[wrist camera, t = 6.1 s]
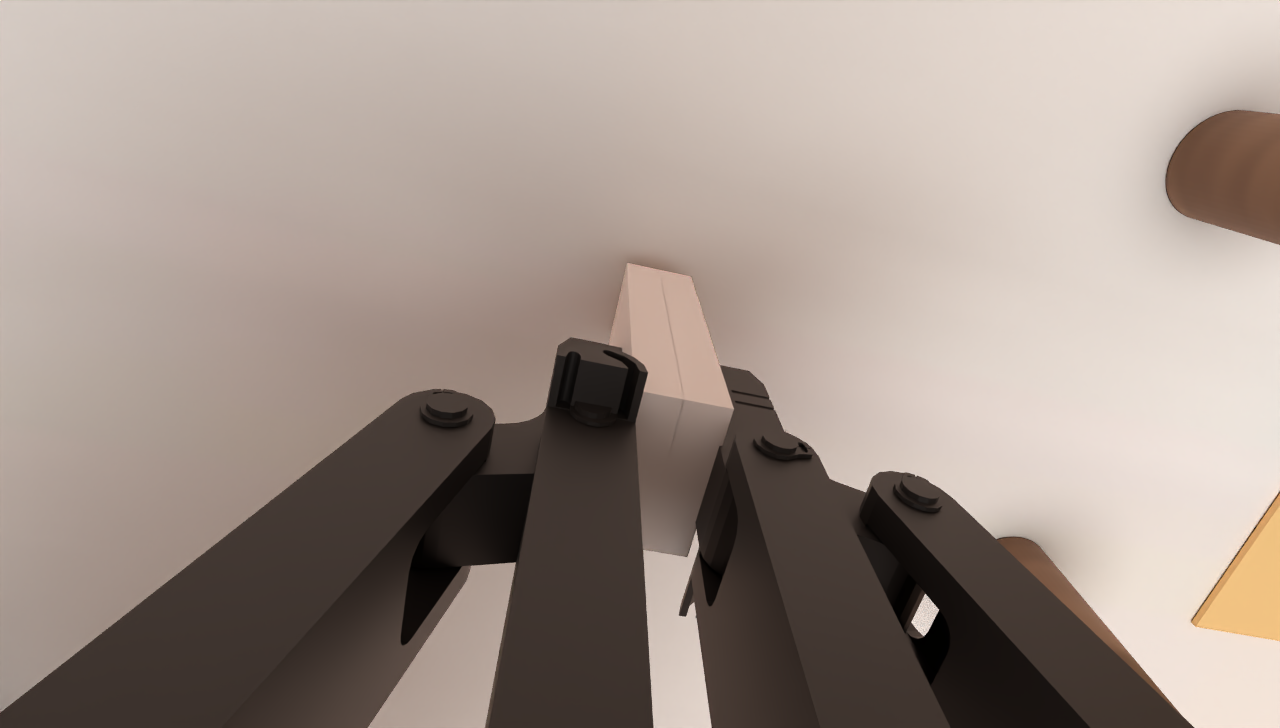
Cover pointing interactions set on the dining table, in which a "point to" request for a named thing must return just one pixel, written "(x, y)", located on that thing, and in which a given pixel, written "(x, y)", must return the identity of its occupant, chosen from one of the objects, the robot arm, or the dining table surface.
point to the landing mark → (1249, 586)
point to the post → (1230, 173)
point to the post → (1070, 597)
